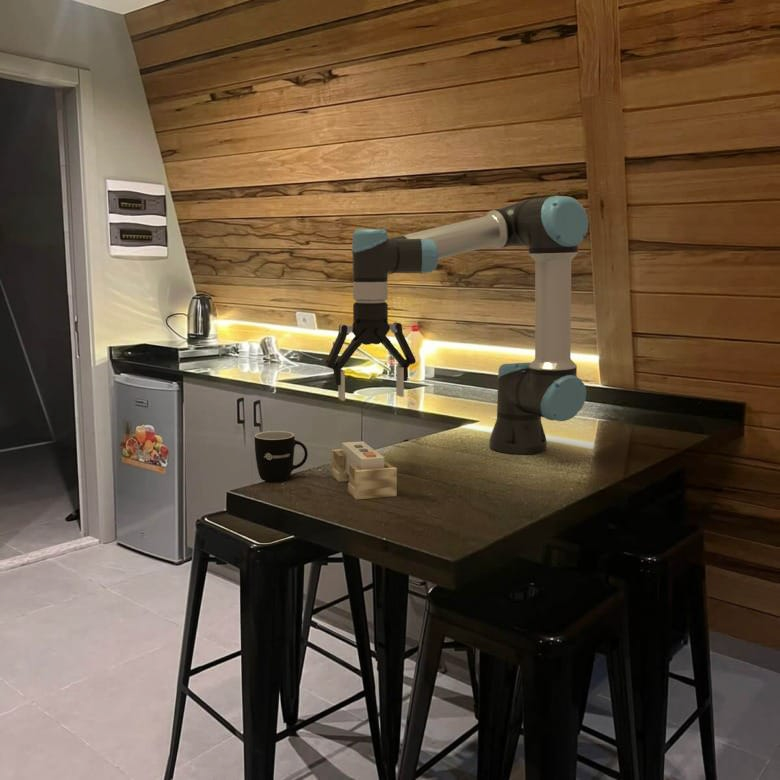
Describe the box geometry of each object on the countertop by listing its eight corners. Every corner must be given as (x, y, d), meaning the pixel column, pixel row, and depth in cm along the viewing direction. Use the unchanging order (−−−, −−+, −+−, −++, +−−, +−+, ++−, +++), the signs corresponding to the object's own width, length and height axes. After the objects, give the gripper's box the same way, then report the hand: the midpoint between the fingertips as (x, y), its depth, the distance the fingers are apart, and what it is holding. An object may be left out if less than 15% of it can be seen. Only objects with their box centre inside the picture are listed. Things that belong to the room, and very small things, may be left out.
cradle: (368, 472, 188) (368, 447, 187) (396, 495, 169) (396, 468, 168) (331, 475, 185) (331, 449, 184) (355, 499, 166) (355, 471, 165)
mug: (257, 485, 176) (257, 440, 175) (253, 474, 185) (252, 431, 183) (311, 481, 180) (311, 437, 178) (304, 471, 188) (303, 429, 186)
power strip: (362, 466, 185) (362, 439, 184) (384, 485, 170) (384, 455, 169) (341, 468, 183) (341, 440, 182) (361, 486, 168) (361, 457, 167)
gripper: (417, 299, 181) (417, 391, 184) (310, 302, 172) (312, 398, 176) (430, 301, 174) (429, 396, 177) (318, 303, 165) (320, 404, 169)
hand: (371, 397), depth 177 cm, fingers open, 13 cm apart
